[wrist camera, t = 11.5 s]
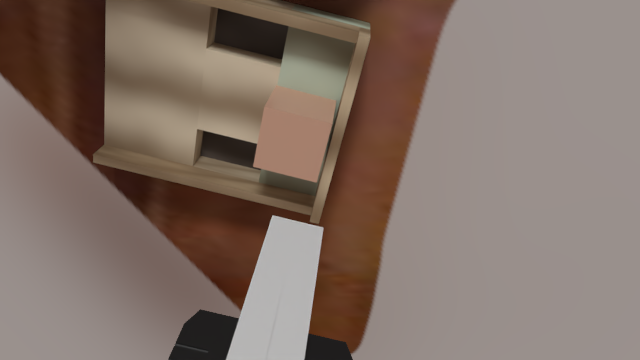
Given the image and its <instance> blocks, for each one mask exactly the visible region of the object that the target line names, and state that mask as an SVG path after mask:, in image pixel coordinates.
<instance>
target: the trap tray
mask: <svg viewBox="0 0 640 360" xmlns="http://www.w3.org/2000/svg"><path fill="white" fill-rule="evenodd" d="M369 41H370V23H368V22H364V21H360V20H356V19H352V18H348V17H344V16H340V15H337V14H333V13H329V12H325V11H321V10H317V9H313V8H309V7H305V6H302V5H298V4H294V3H290V2H286V1H282V0H106V24H105V127H104V145H103V146H102V147H101V148H100V149H99V150H97V151H96V152H95V153H94V154H93V163H97V164H102V165H106V166H110V167H114V168H118V169H122V170H126V171H130V172H134V173H139V174H143V175H147V176H151V177H155V178H159V179H163V180H167V181H171V182H176V183H180V184H184V185H188V186H192V187H196V188H200V189H204V190H208V191H213V192H217V193H221V194H225V195H229V196H233V197H237V198H241V199H245V200H250V201H254V202H258V203H262V204H266V205H270V206H274V207H278V208H282V209H287V210H291V211H295V212H299V213H303V214H307V215H311V217H310V222H313V223H317V224H319V221H320V217H321V214H322V210H323V207H324V203H325V199H326V196H327V192H328V189H329V185H330V181H331V178H332V174H333V171H334V167H335V163H336V160H337V156H338V153H339V149H340V145H341V142H342V138H343V135H344V131H345V127H346V124H347V120H348V117H349V113H350V109H351V106H352V102H353V99H354V95H355V91H356V88H357V84H358V81H359V77H360V73H361V70H362V66H363V63H364V59H365V55H366V52H367V48H368V45H369ZM276 85H278V86H282V87H286V88H289V89H293V90H297V91H301V92H305V93H309V94H313V95H317V96H321V97H324V98H328V99H332V100H336V107H335V112H334V118H333V124H332V128H331V131H330V135H329V139H328V142H327V146H326V150H325V154H324V157H323V161H322V165H321V168H320V172H319V176H318V180H317V183H316V182H312V181H308V180H304V179H300V178H296V177H292V176H288V175H284V174H280V173H276V172H272V171H268V170H264V169H260V168H256V167H253V164H254V159H255V154H256V148H257V143H258V138H259V132H260V127H261V122H262V117H263V111H264V106H265V105H266V103H267V101H268V99H269V97H270V95H271V94H272V92H273V90H274V88H275V86H276Z"/></svg>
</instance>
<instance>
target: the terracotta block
mask: <svg viewBox="0 0 640 360" xmlns="http://www.w3.org/2000/svg"><path fill="white" fill-rule="evenodd" d="M335 107H336V100H332V99H328V98H324V97H321V96H317V95H313V94H309V93H305V92H301V91H297V90H293V89H289V88H286V87H282V86H278V85H276V86H275V88H274V90H273V92H272V94H271V95H270V97H269V99H268V101H267V103H266V105H265V106H264V111H263V117H262V122H261V127H260V132H259V138H258V143H257V148H256V154H255V159H254V164H253V167H256V168H260V169H264V170H268V171H272V172H276V173H280V174H284V175H288V176H292V177H296V178H300V179H304V180H308V181H312V182H316V183H317V180H318V176H319V172H320V168H321V165H322V161H323V157H324V154H325V150H326V146H327V142H328V139H329V135H330V131H331V128H332V124H333V118H334V112H335Z"/></svg>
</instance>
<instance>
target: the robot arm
mask: <svg viewBox="0 0 640 360" xmlns="http://www.w3.org/2000/svg"><path fill="white" fill-rule="evenodd" d="M322 234H323V227H319V226H315V225H311V224H307V223H302V222H298V221H294V220H290V219H286V218H282V217H278V216H274V215H272V218H271V221H270V224H269V228H268V231H267V234H266V237H265V240H264V243H263V246H262V249H261V252H260V256H259V259H258V262H257V265H256V268H255V271H254V274H253V277H252V280H251V283H250V287H249V290H248V293H247V296H246V299H245V302H244V305H243V308H242V311H241V315H240V318H234V317H230V316H226V315H222V314H217V313H213V312H209V311H205V310H199V311H198V312H197V313H196V314H195V315H194V316H193V317H191V318H190V319H189V320H188V321H187V322H186V323H185V324H184V326H183V328H182V330H181V332H180V335H179V337H178V339H177V341H176V344H175V346H174V348H173V350H172V352H171V354H170V357H169V360H353V359H352V357H351V354H350V352H349V349H348V347H347V344H346V342H342V341H338V340H333V339H329V338H325V337H321V336H316V335H312V334H308V331H309V324H310V317H311V310H312V303H313V297H314V290H315V283H316V276H317V269H318V262H319V255H320V248H321V241H322Z"/></svg>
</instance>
